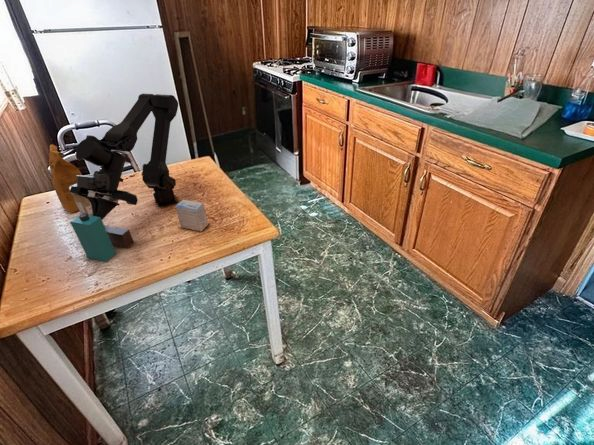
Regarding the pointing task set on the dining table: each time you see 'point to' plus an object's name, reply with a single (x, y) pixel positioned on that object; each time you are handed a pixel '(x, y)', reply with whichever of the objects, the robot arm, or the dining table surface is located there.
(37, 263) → the dining table surface
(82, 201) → the sprinkles bottle
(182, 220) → the medicine box
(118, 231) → the walnut block
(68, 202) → the coffee package
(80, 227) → the plastic bottle
